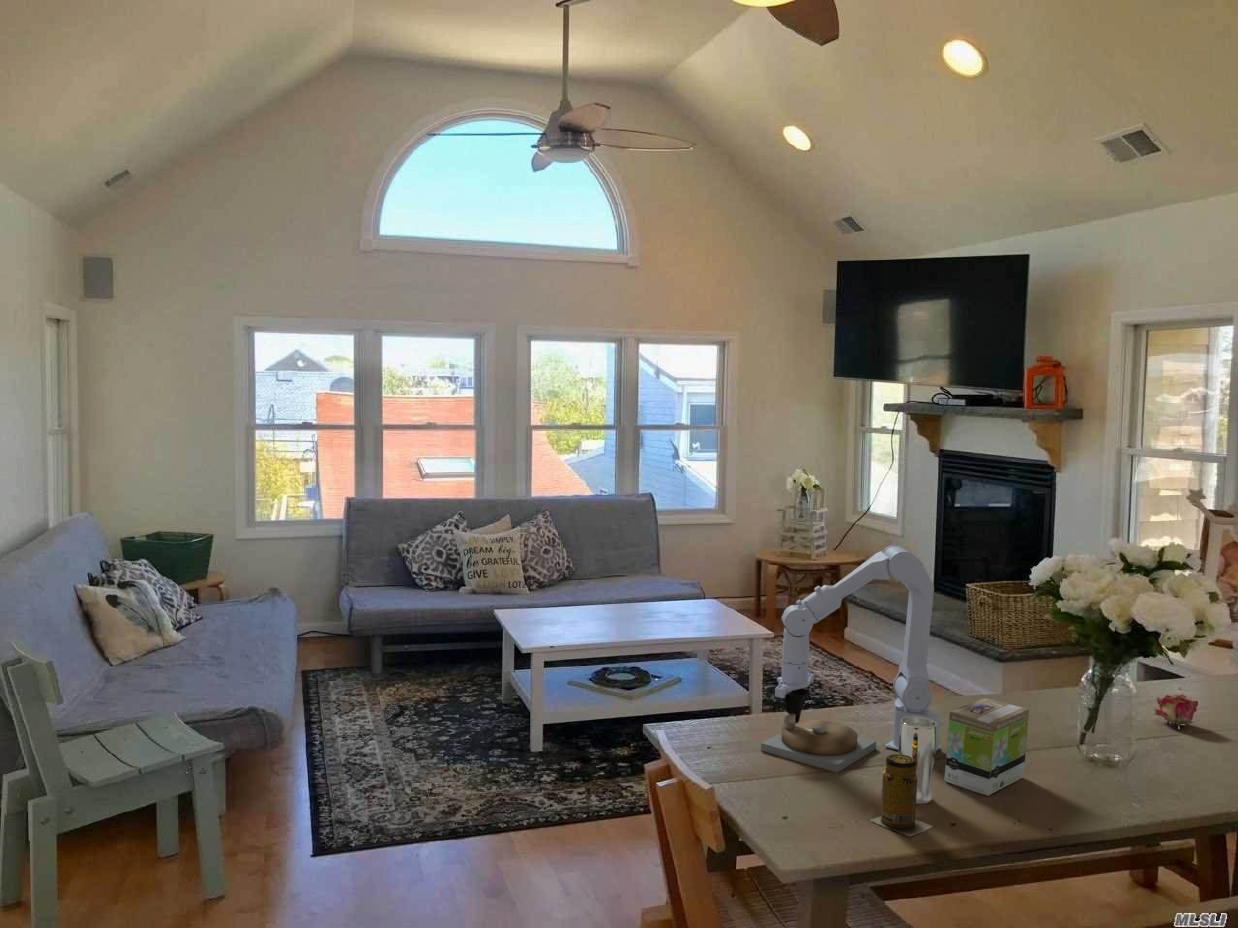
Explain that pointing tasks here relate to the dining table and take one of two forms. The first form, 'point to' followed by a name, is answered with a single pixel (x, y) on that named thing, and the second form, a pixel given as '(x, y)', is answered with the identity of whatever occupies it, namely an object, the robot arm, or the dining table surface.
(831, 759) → the base plate
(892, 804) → the condiment
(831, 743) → the handwheel
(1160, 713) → the flower
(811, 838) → the dining table surface
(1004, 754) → the tea box
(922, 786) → the beer glass
